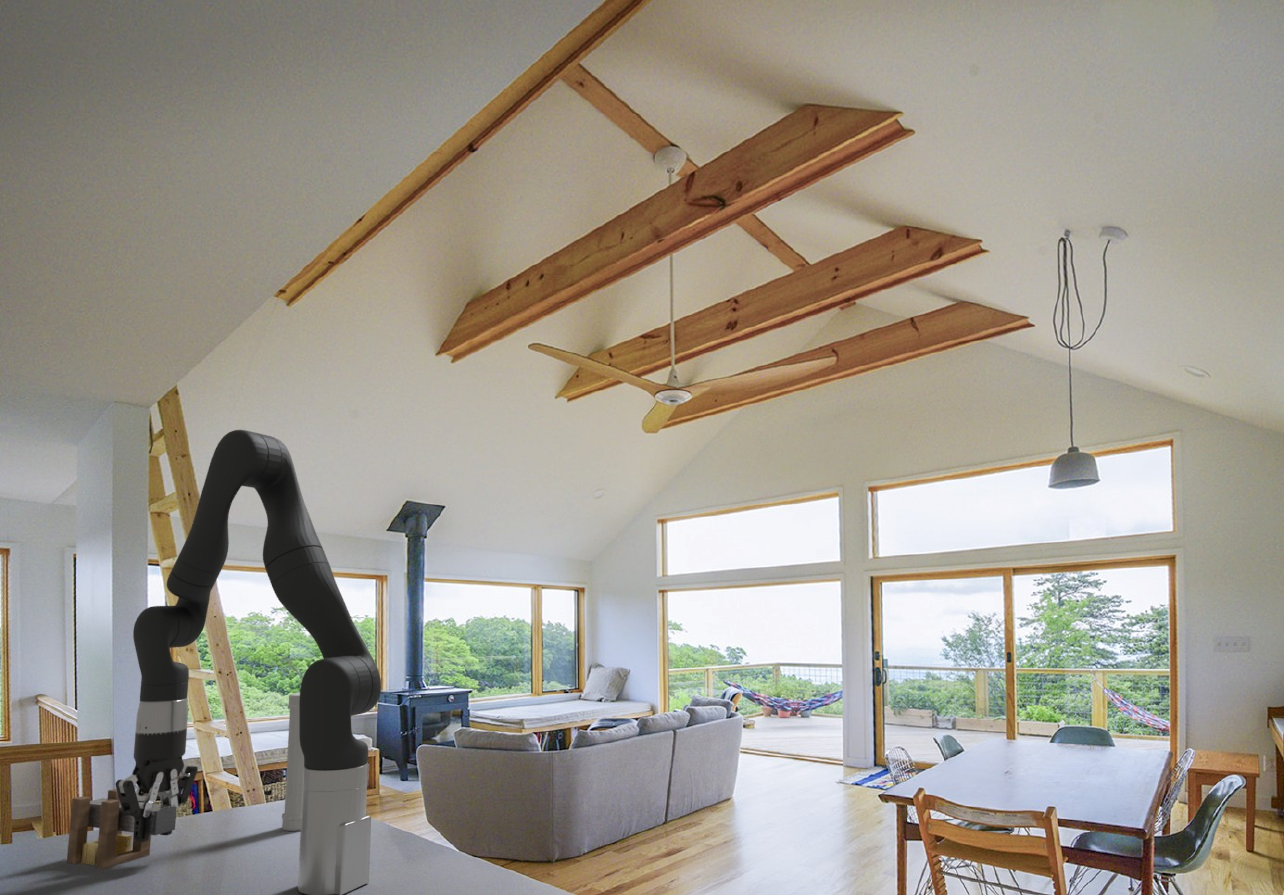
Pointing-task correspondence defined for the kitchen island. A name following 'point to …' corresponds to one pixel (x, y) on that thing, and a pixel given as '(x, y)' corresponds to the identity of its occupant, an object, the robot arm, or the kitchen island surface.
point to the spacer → (91, 848)
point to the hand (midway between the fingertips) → (153, 837)
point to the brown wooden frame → (101, 833)
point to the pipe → (293, 769)
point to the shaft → (159, 819)
